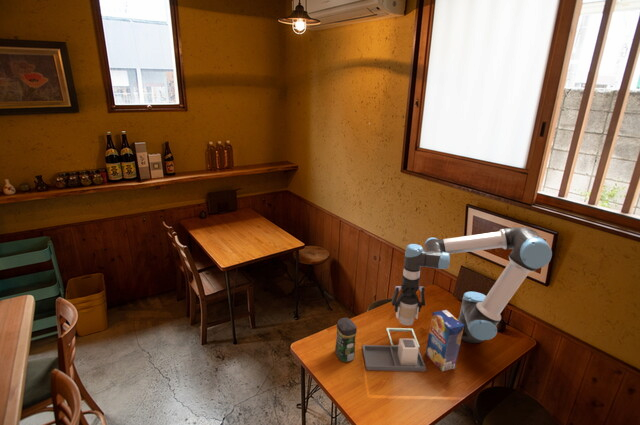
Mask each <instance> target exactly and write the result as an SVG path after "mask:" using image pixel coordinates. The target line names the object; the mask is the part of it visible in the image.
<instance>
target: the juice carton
mask: <svg viewBox="0 0 640 425" xmlns="http://www.w3.org/2000/svg"><path fill="white" fill-rule="evenodd" d="M457 319H458V318H456V316H454V315H453V314H452V313H451V312H450V311H449V310H447V309H442V310H437V311H433V312H432V315H431V320H430V325H429V332H428V337H427V344H426V350H425V354H426V356H427V357H428V359H430V360H431V361H432V362H433V364H434V365H435V366H436V367H437V368H438V369H439V370H440V372H445V371H448V370H449V371H450V370H454V371H455V370H456V366H457V361H458V357H459V352H460V346H461V342H462V339H461V338H462V333H463V329H464V325H463V324H462V323H461V322H460V321H459V320H457Z"/></svg>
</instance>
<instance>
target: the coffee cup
mask: <svg viewBox="0 0 640 425" xmlns="http://www.w3.org/2000/svg"><path fill="white" fill-rule="evenodd" d="M398 297H399V296H398ZM399 298H400V297H399ZM418 299H419V298H418ZM418 299H417V298H416V297H415V296H414V294H413V295H411V294H409V295H406V296H405V297H403V298H402V299H401V300H400V301H401V302H400V304H399V307H400V310H399V319H398V322H399V323H400V324H401V325H403V326H413V325H414V321H415V314H416V309H417V304H418Z"/></svg>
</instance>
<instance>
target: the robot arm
mask: <svg viewBox="0 0 640 425" xmlns="http://www.w3.org/2000/svg"><path fill="white" fill-rule="evenodd" d="M492 249H503V250H511V252H510V253H509V255H508V259H509V262H508V263H507V265H506V267H505V268H503V270H502V272H501V273H500V275H499V277H498V278H497V279H496V281H495V282H494V284H493V285H492V287H491V288H490V289H489V291H488V293H487V295H485V294H484V293H481V292H477V291H466V292H464V293H463V295H462V296H463V297H462V300H461V306H460V312H459V316H458V317H457V318H456V319H457V320H459V321H460V322H461V323H462V324H463V325H464V329H463V333H462V338H461V341H464V342H467V343H471V344H472V343H473V344H478V343H479V344H480V343H482V342H483V341H486V340H487V341H489V340H491V339H493V338H495V337H496V335H497V333H498V328H497V325H498V324H499V323H500V321H501V320H502V315H501V313H502V312H503V310H504V309H505V308H506V306H507V305H508V303H509V302H510V300H511V299H512V298H513V296H514V295H515V293H516V292H517V291H518V289H519V288H520V286H521V285H522V283H523V282H524V281H525V279H526V278H527V277H528V275H529V274H530V273H534V272H535V273H536V271H537V270H538V269H541V268H544V267H546V266H547V265H548V264H549V263H550V262H551V259H552V256H553V251H552V248H551V247H550V244H549V243H548V242H547V241H546V240H545V239H543V238H542V236H541V235H540V234H539V233H538V232H537V231H536V230H534V229H532V228H530V227H525V226H523V227H522V226H517V227H516V226H514V227H513V226H512V227H506V228H500V229H499V230H498V231H491V232H486V233H479V234H471V235H463V236H458V237H457V236H456V237H447V238H442V239H438V238H437V237H428V238H427V239H426V240H425V242H424V248H423V247H422V245H420V244H417V243H410V244H407V245H406V248H405V251H404V252H405V253H404V261H403V262H404V263H403V271H402V272H403V273H402V280H401V281H402V283H401V285H397V284H396V285H394V288H395V289H394V293H393V295H392V298H391V302H390V303H391V305H392V306H393V307H394V312H395V317H396V319H398V320H399V310H400V307H399V304H400V302H401V301H400V300H401V299H402V298H403V297H405V296H406V295H409V294H411V295H413V294H414V296H415V297H416V298H417V299H418V303H417V309H416V314H415V317H414V319H416V320H418V319H419V318H418V317H419V313H420V312H421V309H422V307H425V306H426V300H425V298H426V297H425V290H426V289H425V286H424V285H420V277H421V276H420V275H421V269H422V268H423V267H424V268H432V269H439V270H447V269H448V268H449V267H450V262H451V256H450V255H452V254H460V253H468V252H469V253H470V252H476V251H485V250H492ZM421 267H422V268H421ZM418 290H419V294H420V299H419V297H418V294H417V292H418ZM400 291H401V292H400ZM399 293H400V294H399ZM399 297H400V298H399Z"/></svg>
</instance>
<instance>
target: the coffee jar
mask: <svg viewBox="0 0 640 425" xmlns="http://www.w3.org/2000/svg"><path fill="white" fill-rule="evenodd" d="M357 329H358V328H357V325H356V324H355V323H354V321H353V320H352V319H351V318H348V317H343V318H339V319H338V320H337V322H336V337H335V338H336V339H335V348H334V352H335V354H336V356H337V358H338V359H339V361H341V362H344V363H346V362H347V363H348V362H351V361H353V360H355V355H356V350H355V349H356V336H357V332H358V331H357Z"/></svg>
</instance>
